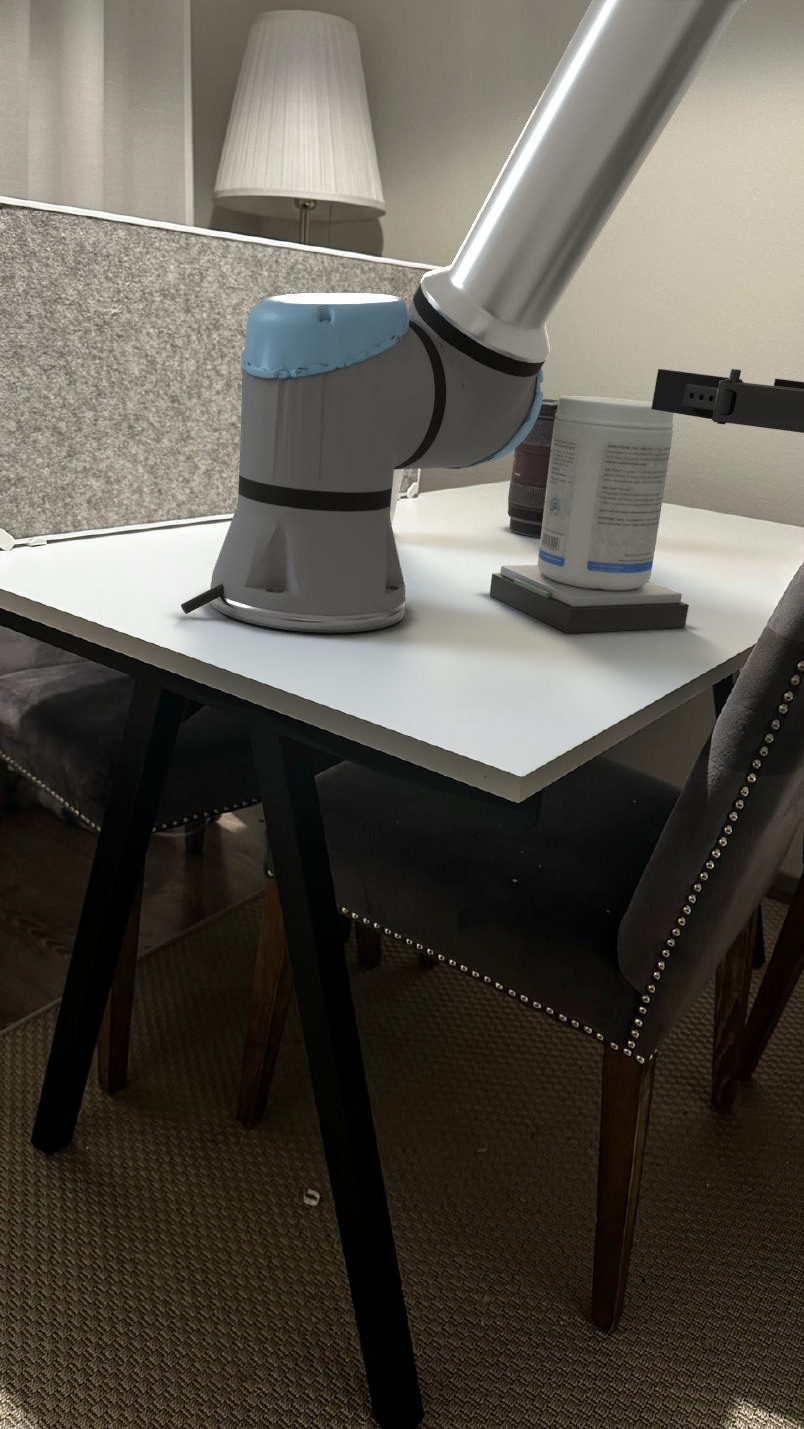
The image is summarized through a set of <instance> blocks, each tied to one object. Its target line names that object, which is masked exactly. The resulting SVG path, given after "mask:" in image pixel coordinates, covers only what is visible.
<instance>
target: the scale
mask: <svg viewBox="0 0 804 1429" xmlns="http://www.w3.org/2000/svg"><path fill="white" fill-rule="evenodd" d="M682 595H683V594H682V593H680V592H679V591H675V590H673V589H670V588H667V587H665V586H663V585H659V584H657V583H654V582H651V581H648V582H647V583H646V584H645V585H643V586H641V587H639V588H635V589H630V590H603V589H600V588H595V589H588V588H581V587H575V586H571V585H567V584H563V583H559V582H556V581H554V580H551V579H549V578H547V577H546V576H544V575H543V574H542V573H541V572H540V571H539V568H538V564H527V565H526V564H525V565H524V564H521V565H519V564H517V565H501V566H500V572H497V573H496V572H495V573H494V572H493V573H492V574H491V580H490V588H489V597H492V598H494V599H496V600H498V601H500V602H502V603H505V604H507V605H508V606H510V607H512V608H514V609H517V610H518V611H521V612H523V613H525V614H527V615H529V616H531V617H533V618H535V619H537V620H539V621H541V622H544V623H546V624H547V625H549V626H551V627H554V628H555V629H558V630H560V631H562V632H564V633H565V634H584V633H585V634H586V633H587V634H588V633H603V632H604V633H605V632H623V631H625V632H626V631H643V630H644V631H645V630H663V629H680V628H681V629H682V628H685V627H686V623H687V617H688V613H689V607H690V604H689V603H686V602H684V601H682Z"/></svg>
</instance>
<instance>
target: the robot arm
mask: <svg viewBox="0 0 804 1429" xmlns="http://www.w3.org/2000/svg"><path fill="white" fill-rule="evenodd" d="M748 1H749V0H591V1H590V3H589V5H588V8H587V9H586V11H585V13H584V15H583V16H582V18H581V20H580V22H579V24H578V26H577V28H576V29H575V32H574V33H573V35H572V37H571V39H570V41H569V43H568V45H567V47H566V48H565V51H564V52H563V54H562V56H561V58H560V60H559V62H558V64H557V66H556V67H555V69H554V71H553V73H552V74H551V77H550V79H549V81H548V82H547V85H546V87H545V88H544V90H543V92H542V93H541V96H540V98H539V100H538V101H537V104H536V105H535V107H534V109H533V111H532V113H531V115H530V117H529V119H528V121H527V122H526V124H525V126H524V128H523V130H522V132H521V134H520V135H519V138H518V140H517V141H516V143H515V145H514V146H513V149H512V150H511V153H510V154H509V156H508V158H507V160H506V161H505V164H504V165H503V167H502V170H501V172H500V173H499V175H498V177H497V179H496V181H495V182H494V185H493V186H492V188H491V190H490V192H489V194H488V196H487V198H486V199H485V201H484V204H483V205H482V207H481V209H480V211H479V213H478V214H477V217H476V219H475V220H474V222H473V224H472V226H471V228H470V230H469V232H468V234H467V235H466V237H465V239H464V241H463V243H462V245H461V247H460V248H459V249H458V252H457V254H456V256H455V258H454V260H453V262H452V264H450V265H449V266H445V267H442V268H437V269H435V270H430V271H428V272H426V273H425V274H424V275H423V277H422V278H421V280H420V282H419V284H418V286H417V288H416V290H415V292H414V294H413V295H412V297H411V300H410V301H409V304H408V305H407V304H406V302H405V300H404V299H402V298H401V297H399V296H395V295H389V294H380V293H359V292H358V293H356V292H354V293H353V292H351V293H350V292H333V293H325V292H315V293H311V292H310V293H293V294H292V293H291V294H281V295H274V296H269V297H265V298H263V299H261V300H259V301H257V303H255V304H254V306H253V307H252V308H251V310H250V311H249V314H248V315H247V319H246V325H245V326H246V327H245V337H244V348H243V349H244V350H243V351H242V353H241V358H240V365H241V366H240V367H241V369H242V370H241V371H242V372H241V374H242V375H241V376H242V377H241V406H240V407H241V411H240V413H241V414H240V440H239V441H240V442H239V443H240V444H239V462H238V464H239V465H238V466H239V467H238V488H237V489H238V490H237V503H236V507H235V511H234V513H233V516H232V519H231V521H230V524H229V526H228V529H227V532H226V535H225V538H224V540H223V543H222V546H221V549H220V551H219V554H218V557H217V559H216V562H215V564H214V567H213V570H212V575H211V582H210V588H209V590H206V591H204V592H202V593H201V594H200V593H199V594H198V595H197V596H194V597H193V598H191V599H188V600H186V601H184V602H183V603H181V604H180V608H181V610H182V611H183V613H184V614H185V615H188V614H189V613H191V612H193V611H195V610H197V609H200V607H201V608H202V606H205V605H207V604H209V603H210V604H211V606H212V607H213V608H214V609H215V610H217V611H218V612H219V613H222V615H223V614H224V615H226V616H228V617H230V618H233V619H234V620H235V619H236V620H239V621H242V622H244V623H249V624H252V625H257V626H261V627H266V628H273V629H278V630H279V629H280V630H287V631H294V632H295V631H296V632H307V633H335V634H337V633H355V632H356V633H357V632H366V631H367V632H368V631H373V630H378V629H383V628H386V627H389V626H393V625H395V624H397V623H399V622H400V621H401V620H403V618H404V616H405V613H406V612H405V611H406V600H407V597H406V584H405V580H404V579H405V578H404V575H403V570H402V566H401V560H400V558H399V552H398V548H397V544H396V539H395V534H394V530H393V524H392V525H391V520H390V508H391V496H392V486H393V475H394V470H396V469H404V470H418V469H447V470H461V469H469V468H473V467H477V466H479V465H484V464H489V463H491V462H494V461H497V460H500V459H501V458H503V457H505V456H506V455H509V454H510V453H511V452H512V451H515V448H516V447H517V446H518V445H519V444H520V443H521V442H522V441H523V440H524V439H525V437H526V436H527V435H528V433H529V432H530V430H531V429H532V427H533V425H534V423H535V421H536V419H537V417H538V414H539V411H540V408H541V404H542V400H543V399H544V393H543V391H542V390H541V383H543V382H544V371H543V366H544V364H545V363H546V361H547V360H548V358H549V356H550V353H551V350H552V348H551V345H550V340H549V339H550V338H549V334H548V331H547V323H548V320H549V319H550V317H551V316H552V314H553V312H554V311H555V309H556V308H557V306H558V304H559V303H560V300H561V299H562V298H563V296H564V294H565V292H566V291H567V289H568V288H569V286H570V285H571V282H572V281H573V279H574V278H575V276H576V274H577V273H578V272H579V270H580V268H581V266H582V265H583V263H584V261H585V260H586V258H587V256H588V255H589V253H590V252H591V250H592V248H593V247H594V245H595V243H596V242H597V240H598V238H599V237H600V235H601V233H602V232H603V230H604V229H605V227H606V226H607V225H608V224H607V223H608V222H609V221H610V219H611V217H612V215H613V214H614V212H615V211H616V209H617V207H618V206H619V205H620V202H621V201H622V199H623V198H624V197H625V194H626V193H627V191H628V189H629V188H630V186H631V184H632V183H633V181H634V180H635V178H636V177H637V175H638V173H639V171H640V169H641V168H642V166H643V164H644V163H645V162H646V160H647V158H648V157H649V155H650V153H651V152H652V150H653V148H654V147H655V146H656V143H657V142H658V140H659V138H660V137H661V136H662V134H663V132H664V131H665V128H666V127H667V126H668V124H669V122H670V120H671V119H672V118H673V115H674V114H675V112H676V111H677V109H678V108H679V106H680V104H681V103H682V101H683V99H684V97H685V96H686V95H687V93H688V91H689V90H690V87H691V86H692V84H693V83H694V81H695V79H697V77H698V75H699V73H700V71H701V69H702V68H703V67H704V64H705V63H706V62H707V59H709V56H710V55H711V53H712V52H713V50H714V49H715V47H716V45H717V43H718V42H719V40H720V39H721V37H722V35H723V34H724V32H725V30H726V29H727V27H728V25H729V24H730V23H731V21H732V19H733V17H734V16H735V14H736V13H737V10H738V9H739V8H740V7H741V6H742V5H743V4H745V3H746V2H748ZM741 372H742V369H738V368H737V369H735V368H730V370H729V376H728V377H727V376H718V375H709V374H704V373H693V372H687V371H681V370H680V371H679V370H672V369H663V368H658V369H657V373H656V379H655V380H656V381H655V386H654V391H653V397H652V401H651V402H652V408H651V409H653V410H659V411H665V412H671V413H674V414H677V415H682V416H683V415H685V416H689V417H694V418H695V417H696V418H702V419H707V420H708V419H709V420H711V421H712V422H713V423H716V424H717V425H726V424H731V425H732V424H733V425H738V426H739V425H740V426H747V427H756V428H764V429H771V430H777V431H779V430H780V431H784V432H785V431H787V432H793V433H800V434H804V381H799V380H792V379H791V380H790V379H782V378H774V382H773V385H771V384H770V385H769V384H759V383H750V382H745V381H743V379H741Z"/></svg>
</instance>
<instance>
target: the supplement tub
mask: <svg viewBox="0 0 804 1429" xmlns="http://www.w3.org/2000/svg"><path fill="white" fill-rule="evenodd" d="M558 400H559V401H558V408H557V412H556V414H555V416H556V419H555V421H554V429H553V436H552V445H551V453H550V462H549V471H548V479H547V487H546V496H545V505H544V513H543V522H542V531H541V537H540V541H539V549H538V559H537V565H538V568H539V571H540V572H541V573H542V574H543V575H544V576H546V577H547V578H549V579H551V580H554V581H556V582H559V583H563V584H567V585H571V586H575V587H581V588H588V589H595V588H600V589H603V590H630V589H635V588H639V587H641V586H643V585H645V584H646V583H647V582H648V581H649V580H650V579H651V576H652V570H653V569H652V568H653V564H654V558H655V551H656V546H657V538H658V533H659V532H658V531H659V526H660V518H661V513H662V506H663V499H664V494H665V486H666V480H667V472H668V468H669V467H668V466H669V460H670V454H671V447H672V439H673V433H674V430H673V427H674V420H673V419H674V414H675V413H671V412H665V411H659V410H653V409H651V408H652V402H653V401H647V400H646V401H645V400H636V399H626V398H616V397H603V396H591V395H560V396H559V398H558ZM649 582H650V581H649Z"/></svg>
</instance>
